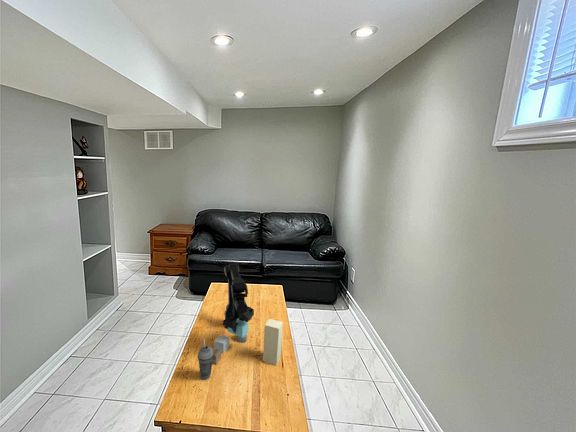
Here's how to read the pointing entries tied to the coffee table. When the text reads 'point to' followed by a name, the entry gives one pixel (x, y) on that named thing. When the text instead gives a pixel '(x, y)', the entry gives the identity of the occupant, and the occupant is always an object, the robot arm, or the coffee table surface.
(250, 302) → the coffee table surface
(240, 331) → the teal long brick
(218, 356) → the walnut cube
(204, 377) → the beverage cup
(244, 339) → the grey cylinder
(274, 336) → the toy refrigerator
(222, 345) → the grey square brick
